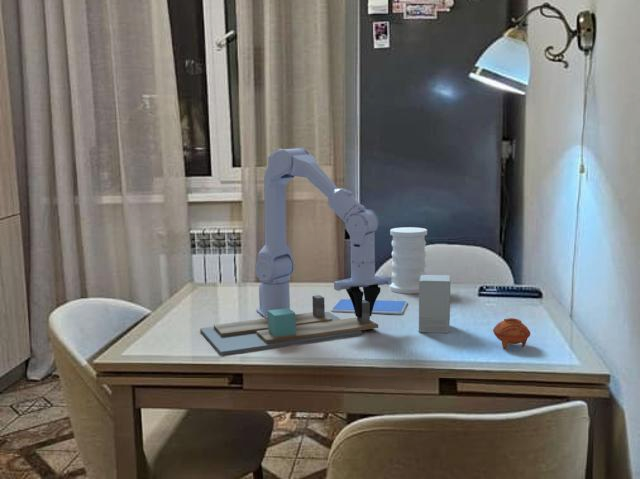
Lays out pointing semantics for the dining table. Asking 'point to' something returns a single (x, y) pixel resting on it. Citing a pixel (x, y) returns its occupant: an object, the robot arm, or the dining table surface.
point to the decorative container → (408, 258)
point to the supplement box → (434, 303)
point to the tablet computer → (378, 308)
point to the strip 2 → (325, 327)
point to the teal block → (281, 322)
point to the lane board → (256, 343)
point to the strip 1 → (262, 324)
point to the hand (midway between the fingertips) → (363, 316)
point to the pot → (511, 332)
